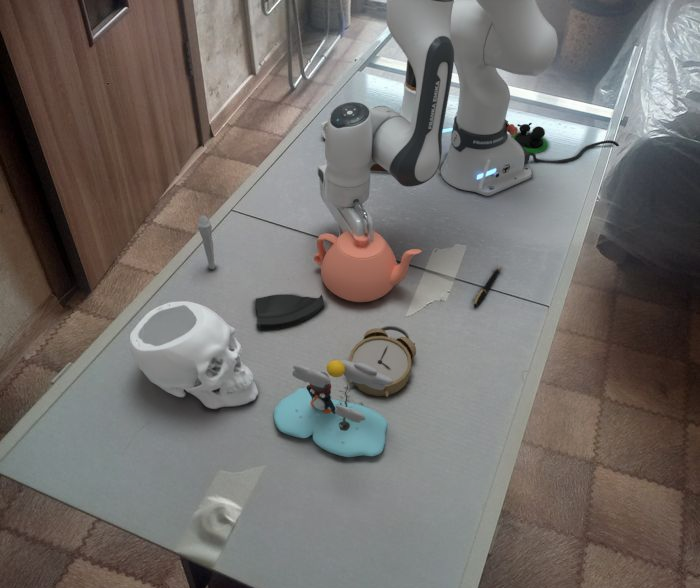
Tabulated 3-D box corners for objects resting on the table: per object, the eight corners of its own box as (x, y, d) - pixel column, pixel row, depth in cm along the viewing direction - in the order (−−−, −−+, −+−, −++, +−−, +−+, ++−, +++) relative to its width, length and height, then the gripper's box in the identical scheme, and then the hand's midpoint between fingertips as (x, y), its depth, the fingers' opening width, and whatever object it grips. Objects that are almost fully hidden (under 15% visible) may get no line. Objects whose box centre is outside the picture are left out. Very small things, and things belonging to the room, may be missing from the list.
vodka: (402, 109, 181) (414, -6, 159) (435, 114, 180) (452, -1, 157) (395, 126, 175) (406, 9, 153) (429, 132, 174) (445, 15, 151)
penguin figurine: (264, 429, 112) (257, 373, 100) (293, 384, 118) (290, 327, 107) (372, 473, 107) (378, 421, 95) (396, 424, 113) (405, 369, 102)
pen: (216, 273, 136) (207, 219, 126) (203, 271, 137) (193, 217, 126) (220, 265, 138) (211, 211, 127) (208, 263, 138) (198, 209, 128)
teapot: (424, 273, 138) (432, 226, 129) (402, 323, 129) (408, 277, 119) (328, 246, 143) (328, 199, 133) (299, 293, 133) (297, 246, 124)
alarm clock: (338, 375, 116) (370, 310, 123) (339, 388, 120) (370, 324, 127) (397, 396, 113) (426, 328, 120) (397, 409, 118) (425, 342, 125)
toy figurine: (533, 129, 177) (539, 109, 172) (555, 148, 171) (561, 128, 167) (502, 136, 174) (506, 116, 170) (523, 156, 168) (528, 136, 164)
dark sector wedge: (328, 324, 128) (328, 318, 127) (258, 331, 126) (257, 325, 125) (322, 294, 133) (322, 288, 132) (254, 300, 131) (254, 294, 130)
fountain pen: (497, 267, 140) (498, 261, 139) (502, 269, 140) (504, 263, 139) (470, 308, 132) (472, 302, 131) (476, 310, 132) (477, 305, 131)
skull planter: (247, 428, 109) (185, 346, 98) (166, 425, 120) (101, 350, 109) (283, 369, 118) (230, 287, 107) (204, 371, 129) (148, 297, 118)
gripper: (384, 214, 124) (379, 268, 134) (342, 156, 136) (341, 210, 146) (353, 221, 122) (350, 276, 132) (314, 162, 134) (314, 216, 144)
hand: (345, 241), depth 139 cm, fingers closed
